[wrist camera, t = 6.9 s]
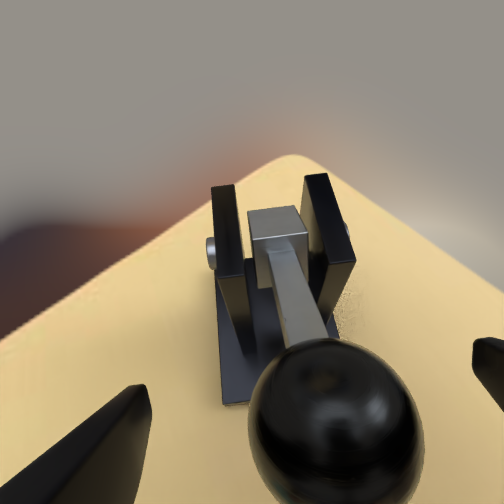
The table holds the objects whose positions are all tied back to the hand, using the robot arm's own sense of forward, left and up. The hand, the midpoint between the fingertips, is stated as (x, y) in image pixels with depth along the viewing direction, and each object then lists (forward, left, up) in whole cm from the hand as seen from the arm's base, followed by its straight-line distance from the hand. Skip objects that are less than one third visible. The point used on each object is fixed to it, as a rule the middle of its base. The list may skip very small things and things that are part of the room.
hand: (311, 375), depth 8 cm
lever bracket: (+4, -4, -13) cm, 14 cm away
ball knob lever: (+1, -1, -2) cm, 3 cm away
